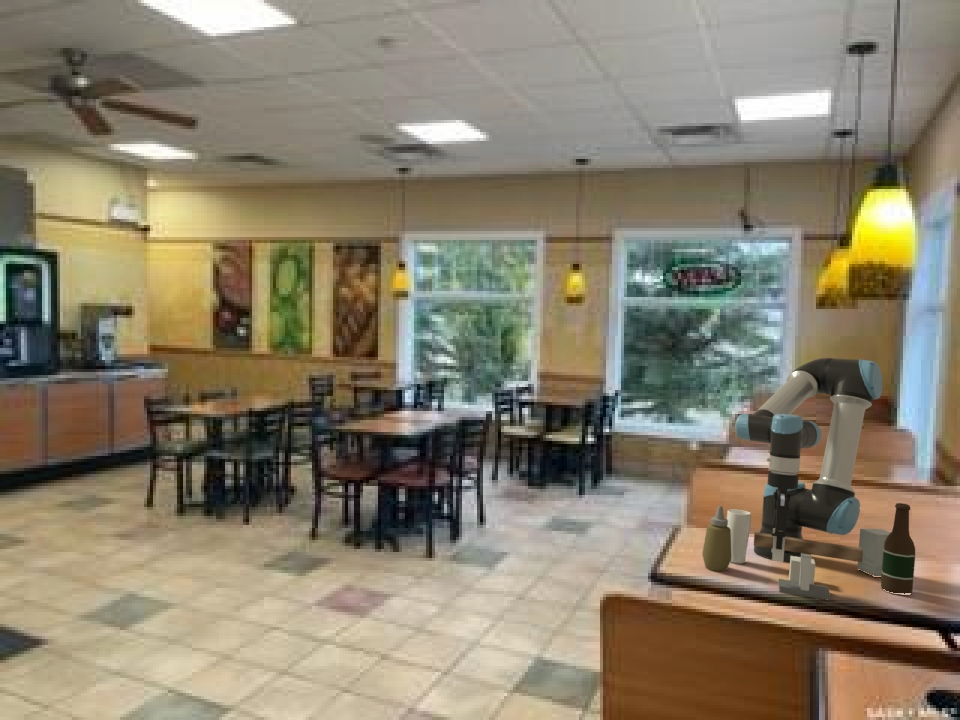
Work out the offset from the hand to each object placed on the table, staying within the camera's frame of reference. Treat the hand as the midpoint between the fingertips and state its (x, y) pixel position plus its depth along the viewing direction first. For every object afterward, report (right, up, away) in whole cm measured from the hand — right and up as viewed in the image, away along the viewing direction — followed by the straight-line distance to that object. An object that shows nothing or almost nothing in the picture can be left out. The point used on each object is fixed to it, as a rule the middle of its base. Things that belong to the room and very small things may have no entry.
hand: (777, 556), depth 191 cm
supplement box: (+37, -10, +19) cm, 43 cm away
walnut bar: (+7, +2, -3) cm, 7 cm away
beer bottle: (+34, -11, +3) cm, 36 cm away
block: (+10, -9, +7) cm, 15 cm away
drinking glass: (-3, -8, +22) cm, 24 cm away
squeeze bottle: (-12, -7, +14) cm, 20 cm away
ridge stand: (+6, -9, -2) cm, 11 cm away
